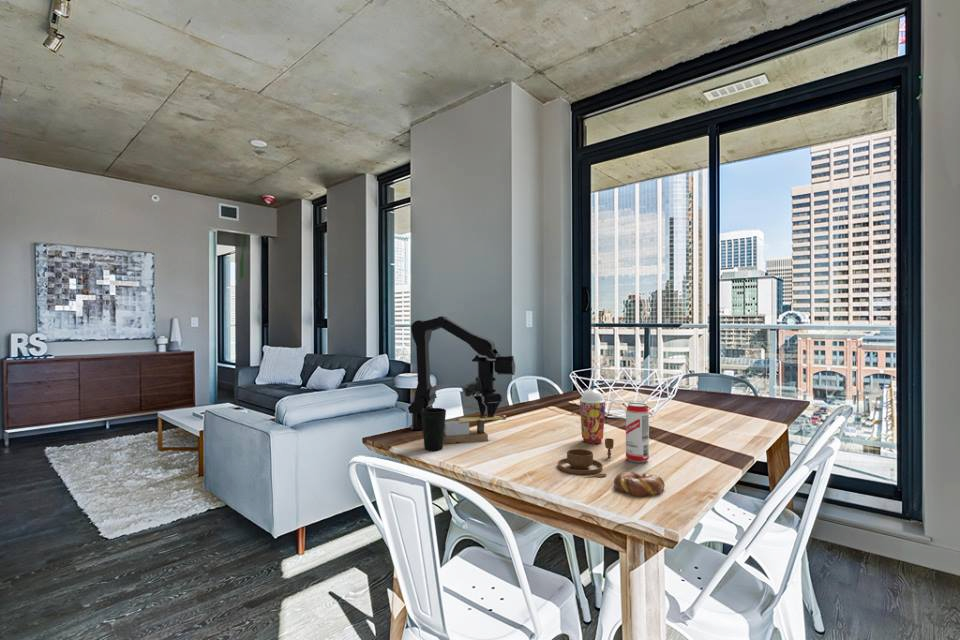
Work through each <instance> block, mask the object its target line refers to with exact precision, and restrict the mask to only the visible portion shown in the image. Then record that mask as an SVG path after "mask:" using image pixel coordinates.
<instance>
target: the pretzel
mask: <svg viewBox="0 0 960 640" xmlns="http://www.w3.org/2000/svg"><path fill="white" fill-rule="evenodd" d="M613 485H614V488H615V489H616V490H618V491H619V492H621V493H624V494H629V495H631V496H636V497H647V496H649V495H650V496H653V495H659V494H661V493H662V492H663V490H664V488H665V487H666V485H665V481H664V479H663V478H662V477H661V476H659V475H657V474H650V473H648V472H647V473H646V472H645V473H641V472H638V471H623V472H620V473H618V474H617V475H616V476H615V477H614V480H613Z"/></svg>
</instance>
